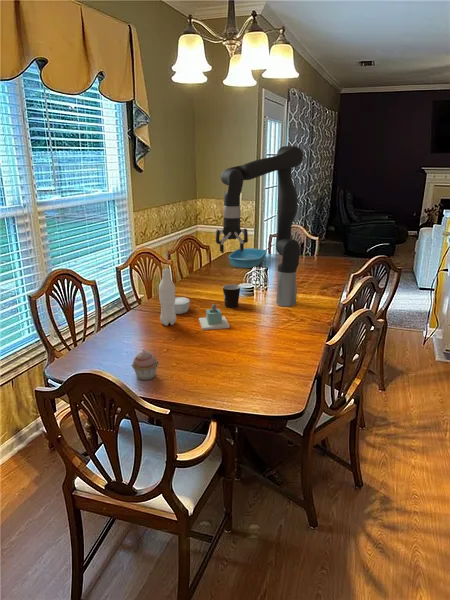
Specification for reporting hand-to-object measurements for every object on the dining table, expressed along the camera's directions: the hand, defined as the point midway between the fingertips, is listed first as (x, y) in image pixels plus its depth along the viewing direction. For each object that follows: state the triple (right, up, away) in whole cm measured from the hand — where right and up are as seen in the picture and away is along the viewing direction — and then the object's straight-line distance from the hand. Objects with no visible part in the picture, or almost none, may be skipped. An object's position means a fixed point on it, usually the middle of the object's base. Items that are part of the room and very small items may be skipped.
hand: (231, 252), depth 201 cm
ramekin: (-26, -27, +15) cm, 40 cm away
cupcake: (-31, -48, -46) cm, 74 cm away
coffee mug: (0, -24, +23) cm, 33 cm away
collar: (-8, -31, -2) cm, 32 cm away
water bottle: (-28, -32, -1) cm, 43 cm away
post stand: (-8, -32, -1) cm, 33 cm away
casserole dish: (+12, +3, +103) cm, 103 cm away
